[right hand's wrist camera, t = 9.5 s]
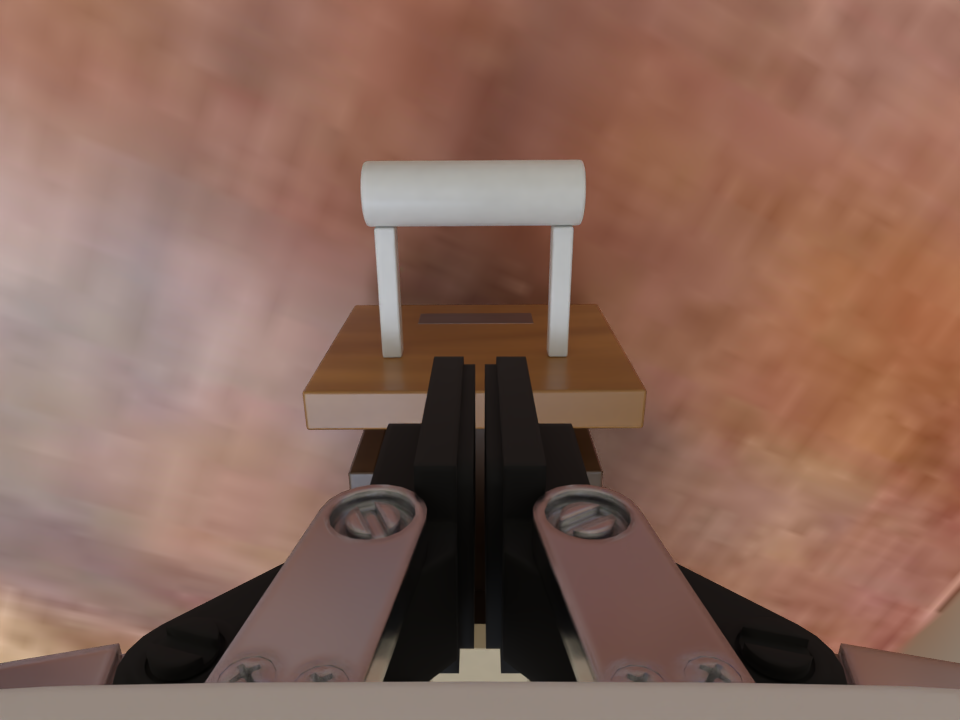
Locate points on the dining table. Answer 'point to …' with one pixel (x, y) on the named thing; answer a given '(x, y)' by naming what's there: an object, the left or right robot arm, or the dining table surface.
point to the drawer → (473, 320)
